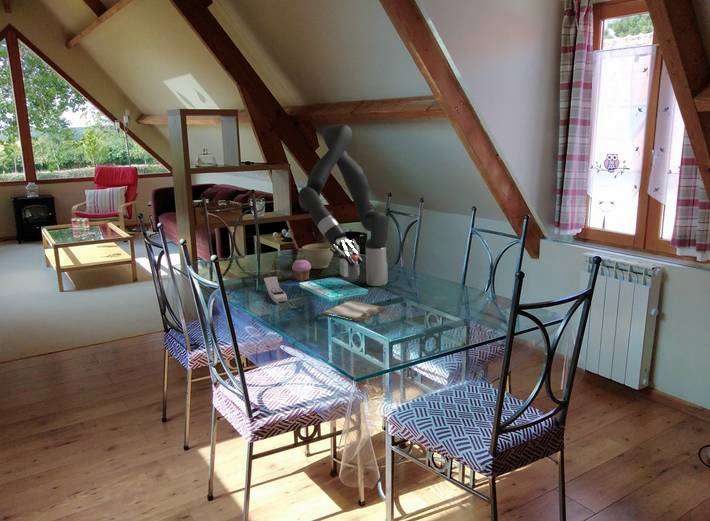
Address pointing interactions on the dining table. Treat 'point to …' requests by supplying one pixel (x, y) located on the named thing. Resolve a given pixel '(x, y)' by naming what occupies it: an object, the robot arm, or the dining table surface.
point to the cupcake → (301, 269)
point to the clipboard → (355, 310)
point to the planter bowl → (318, 255)
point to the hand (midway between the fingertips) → (357, 263)
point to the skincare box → (345, 266)
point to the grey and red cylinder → (353, 268)
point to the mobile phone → (275, 290)
